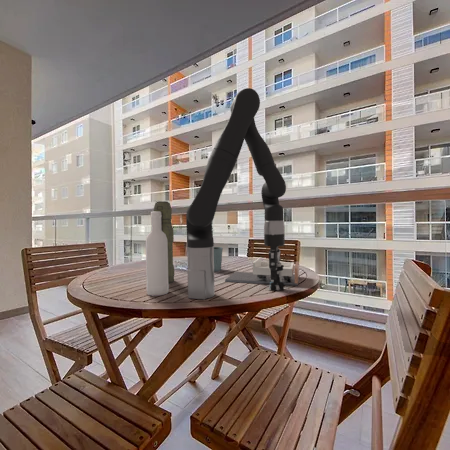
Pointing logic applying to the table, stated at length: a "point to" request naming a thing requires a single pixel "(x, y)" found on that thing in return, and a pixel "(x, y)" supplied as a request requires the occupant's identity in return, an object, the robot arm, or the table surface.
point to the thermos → (167, 233)
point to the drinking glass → (217, 258)
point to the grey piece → (263, 278)
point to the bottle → (156, 258)
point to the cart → (263, 269)
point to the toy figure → (277, 283)
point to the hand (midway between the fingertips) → (274, 277)
